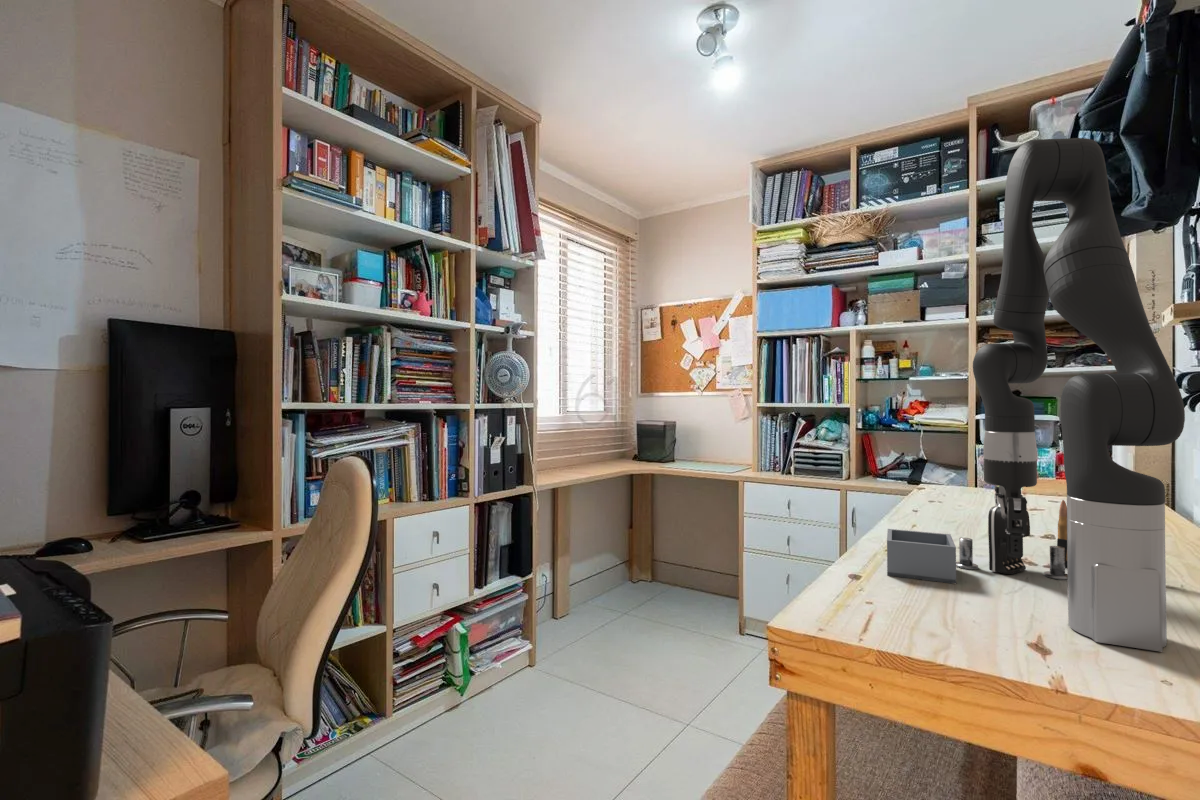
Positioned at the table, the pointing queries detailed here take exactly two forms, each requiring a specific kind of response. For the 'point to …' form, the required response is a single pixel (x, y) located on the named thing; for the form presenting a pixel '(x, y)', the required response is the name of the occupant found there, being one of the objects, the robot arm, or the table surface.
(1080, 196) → the robot arm
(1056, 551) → the metal knobs
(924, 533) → the bin
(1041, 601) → the table surface
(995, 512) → the battery charger
